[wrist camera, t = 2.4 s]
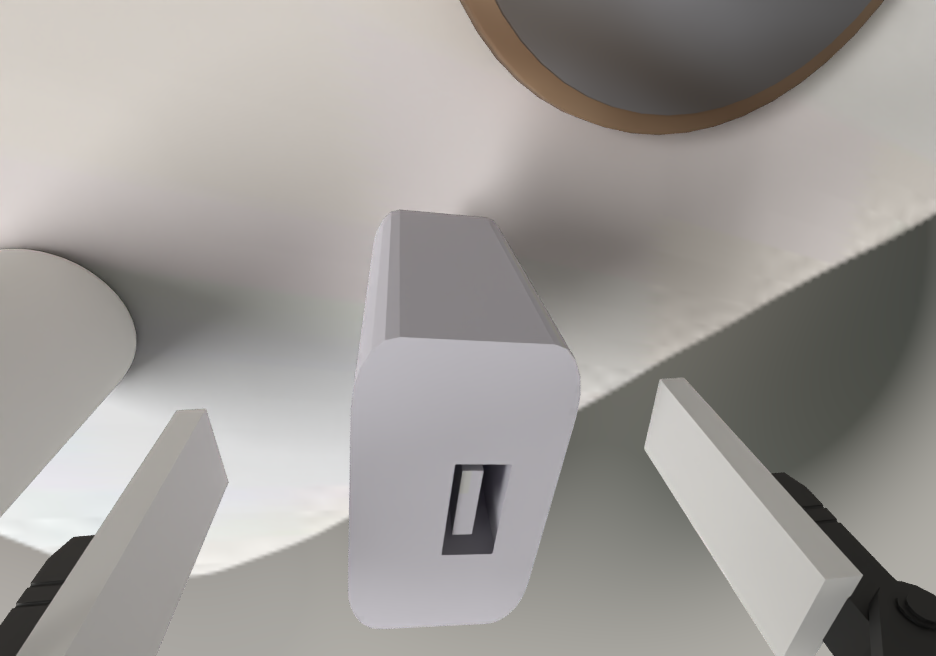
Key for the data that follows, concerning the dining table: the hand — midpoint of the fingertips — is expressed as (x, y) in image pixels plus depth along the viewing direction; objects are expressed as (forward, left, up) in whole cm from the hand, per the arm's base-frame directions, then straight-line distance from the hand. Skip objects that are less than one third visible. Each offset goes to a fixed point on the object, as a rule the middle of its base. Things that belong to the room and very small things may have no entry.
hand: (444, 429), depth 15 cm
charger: (0, 0, -12) cm, 12 cm away
